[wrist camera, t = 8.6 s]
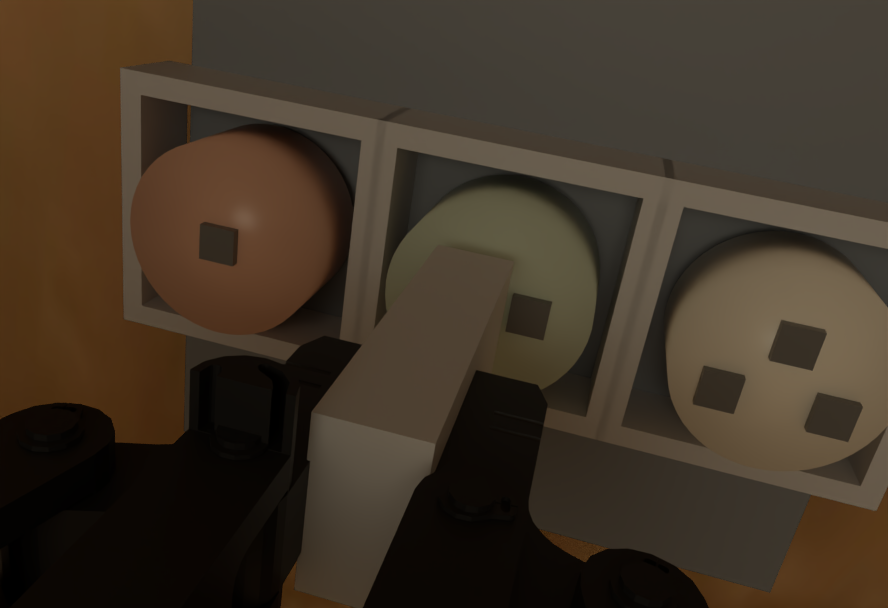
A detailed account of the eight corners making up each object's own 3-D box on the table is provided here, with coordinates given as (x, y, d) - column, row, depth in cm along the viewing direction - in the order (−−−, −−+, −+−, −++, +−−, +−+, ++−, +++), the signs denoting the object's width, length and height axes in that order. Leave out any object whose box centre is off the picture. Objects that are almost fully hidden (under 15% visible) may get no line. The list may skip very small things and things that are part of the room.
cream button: (642, 386, 19) (643, 444, 16) (693, 212, 17) (703, 248, 15) (832, 432, 18) (863, 501, 16) (906, 256, 16) (953, 302, 14)
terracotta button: (186, 275, 21) (126, 313, 18) (190, 107, 19) (123, 124, 16) (344, 313, 20) (303, 358, 17) (363, 143, 18) (320, 166, 16)
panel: (199, 394, 25) (125, 462, 21) (216, -131, 19) (117, -159, 16) (780, 549, 22) (808, 657, 19) (1011, -7, 16) (1116, -7, 13)
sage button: (404, 328, 20) (371, 376, 17) (429, 157, 18) (396, 182, 15) (576, 369, 19) (568, 425, 17) (620, 196, 17) (617, 230, 15)
